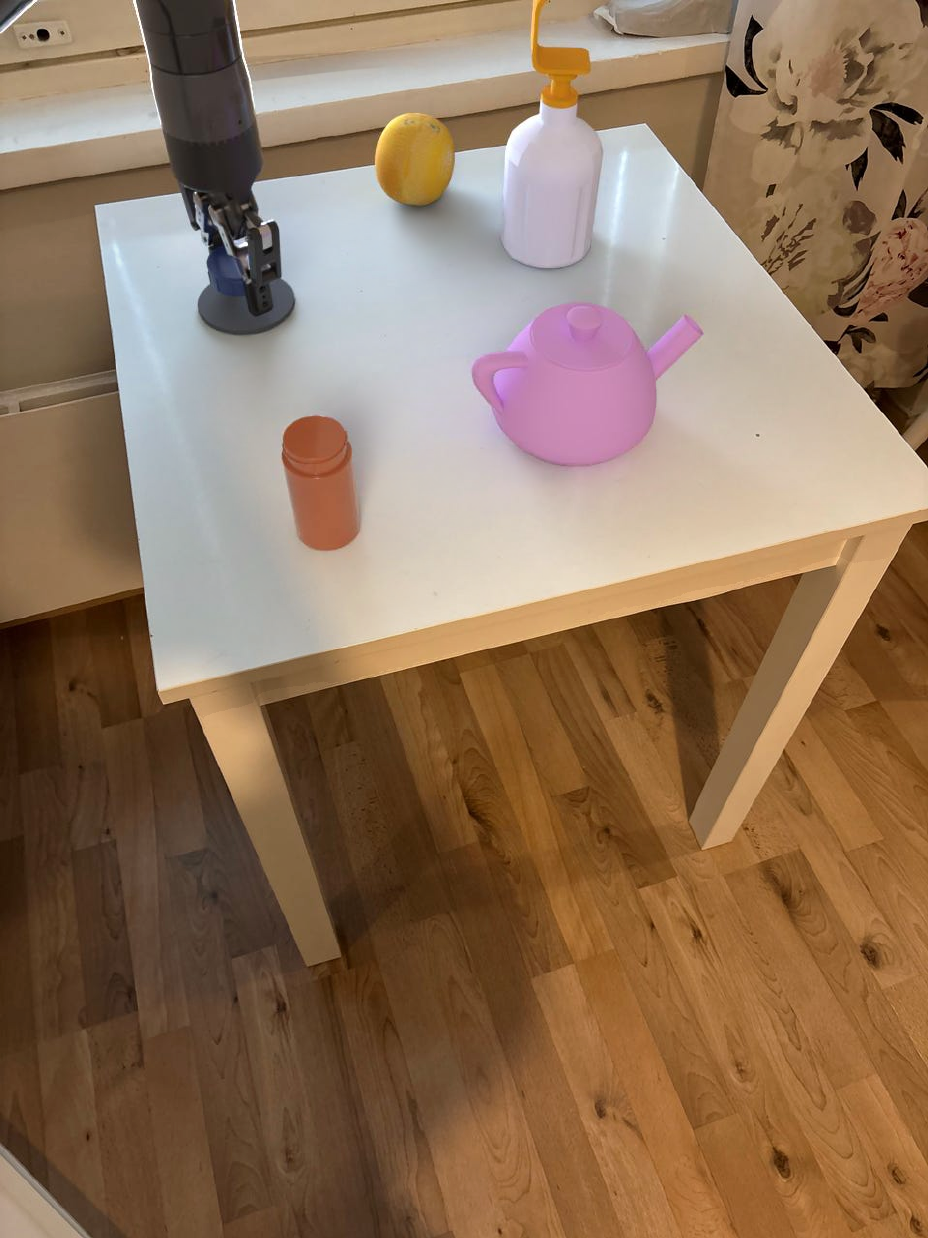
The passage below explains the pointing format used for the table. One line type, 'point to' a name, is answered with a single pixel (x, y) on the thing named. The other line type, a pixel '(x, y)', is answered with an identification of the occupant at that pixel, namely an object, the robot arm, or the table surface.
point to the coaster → (244, 310)
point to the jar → (321, 482)
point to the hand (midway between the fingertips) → (244, 294)
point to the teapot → (578, 383)
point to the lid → (225, 272)
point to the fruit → (414, 159)
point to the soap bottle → (552, 167)
